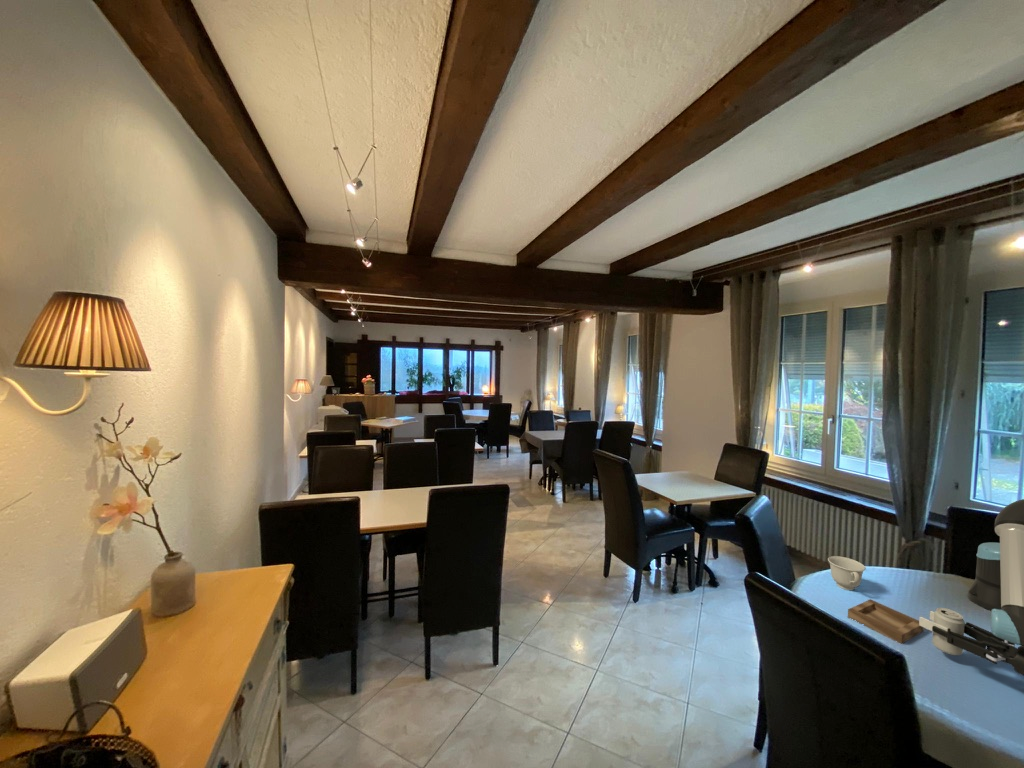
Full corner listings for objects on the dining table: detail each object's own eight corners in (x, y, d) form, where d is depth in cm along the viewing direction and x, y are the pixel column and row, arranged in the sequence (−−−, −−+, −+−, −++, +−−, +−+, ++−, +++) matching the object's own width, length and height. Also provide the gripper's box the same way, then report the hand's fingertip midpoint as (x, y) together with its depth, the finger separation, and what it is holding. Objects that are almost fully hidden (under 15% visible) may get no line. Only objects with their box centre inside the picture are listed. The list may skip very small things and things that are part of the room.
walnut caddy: (869, 606, 150) (870, 599, 150) (923, 631, 137) (924, 622, 137) (847, 617, 144) (848, 609, 144) (901, 644, 131) (901, 635, 130)
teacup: (838, 596, 157) (839, 571, 157) (821, 576, 172) (822, 554, 171) (875, 601, 154) (876, 576, 153) (855, 581, 168) (856, 558, 167)
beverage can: (930, 639, 129) (932, 604, 128) (959, 648, 125) (961, 611, 125) (934, 650, 124) (936, 614, 123) (965, 660, 120) (967, 622, 120)
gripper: (1025, 693, 105) (909, 637, 126) (1051, 669, 112) (938, 620, 133) (1027, 666, 104) (911, 614, 125) (1053, 644, 112) (939, 599, 133)
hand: (925, 617), depth 129 cm, fingers closed on beverage can, 6 cm apart
